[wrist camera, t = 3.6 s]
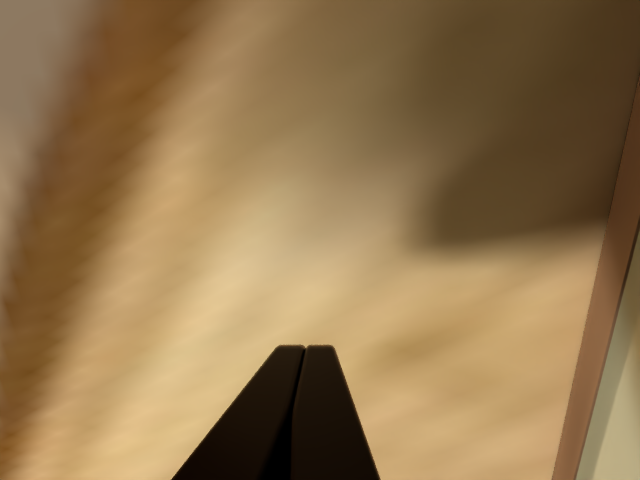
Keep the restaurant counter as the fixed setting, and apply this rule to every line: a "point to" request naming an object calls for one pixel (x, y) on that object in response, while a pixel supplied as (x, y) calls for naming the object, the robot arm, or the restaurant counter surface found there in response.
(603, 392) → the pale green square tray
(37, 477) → the restaurant counter surface
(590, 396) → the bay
